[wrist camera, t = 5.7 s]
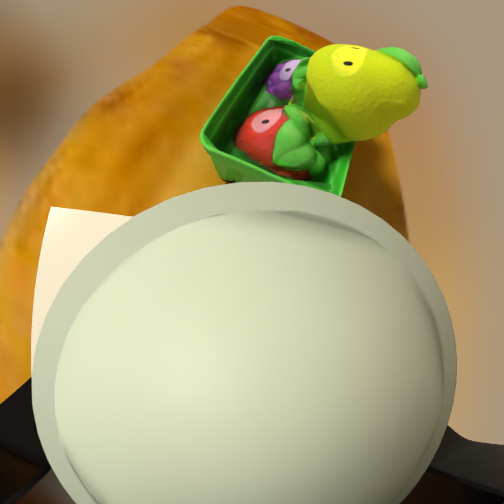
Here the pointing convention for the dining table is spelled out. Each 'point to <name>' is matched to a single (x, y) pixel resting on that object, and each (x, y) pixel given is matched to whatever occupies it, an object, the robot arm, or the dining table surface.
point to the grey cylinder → (246, 356)
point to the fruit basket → (308, 111)
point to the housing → (65, 255)
